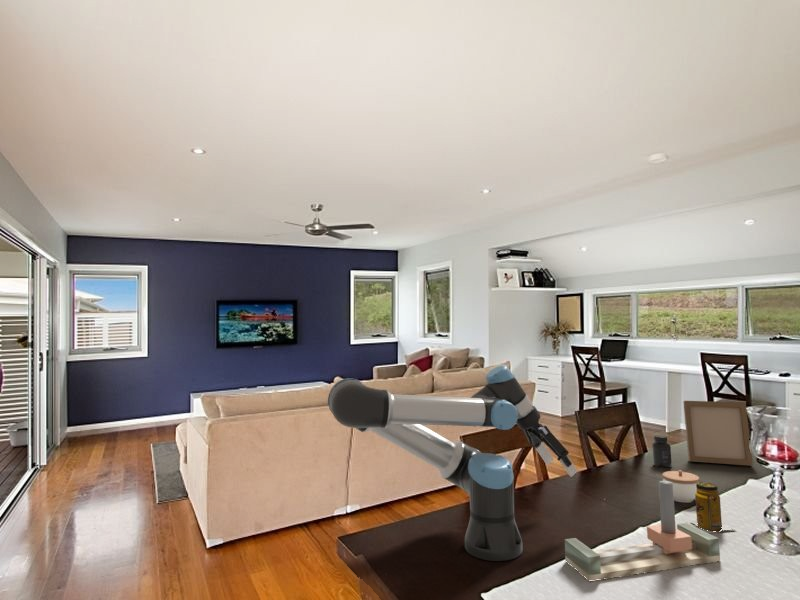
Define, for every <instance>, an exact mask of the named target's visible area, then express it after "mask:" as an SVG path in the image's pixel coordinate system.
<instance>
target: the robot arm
mask: <svg viewBox="0 0 800 600" xmlns="http://www.w3.org/2000/svg"><path fill="white" fill-rule="evenodd" d="M485 380H486V382H487V383H486V384H485V386H483V387H482V388H481V389H479V390H478V391H477V392H476V393H474V394H473V395H472V396H470V397H463V396H462V397H461V396H460V397H459V396H458V397H457V396H437V395H418V394H415V395H414V394H397V393H395V394H394V393H391V392H390V391H389V390H388V389H380V388H379V389H377V388H373V387H370V386H367V385H365V384H363V382H362V381H360V380H359V379H357V378H352V377H351V378H349V377H347V378H343V379H340V380H339V381H337V382H336V383H335V384H333V386H332V387H331V388H330V390H329V393H328V397H327V405H328V408H329V411H330V412H331V413H332V415H333V418H334V419H335V420H336V421H337V422H338V423H339V424H340V425H343V426H344V427H347V428H353V429H356V430H358V431H360V432H362V433H366V432H370V431H371V432H373V433H375V434H376V435H378V436H379V437H382V438H383V439H385V440H386V441H388V442H390V443H392V444H394V445H396V446H398V447H399V448H401V449H403V450H404V451H406V452H407V453H410V454H411V455H413V456H415V457H416V458H418V459H420V460H422V461H424V462H426V463H428V464H429V465H430V466H432V467H434V468H436V469H438V470H439V475H440V477H442V478H443V479H444V480H446V481H448V482H450V483H452V484H453V485H456V486H457V487H458V488H460V489H462V490H463V491H464V492H465V493H466V494H467V495H468V496H469V510H470V511H469V512H470V513H469V514H470V517H469V521H468V526H467V529H466V531H465V536H464V549H465V551H466V552H467V553H468V554H469V555H470V556H473V557H474V558H477V559H481V560H485V561H493V562H503V561H510V560H513V559H516V558H518V557H520V555H522V553H523V547H524V546H523V540H522V537H521V533H520V530H519V529H518V524H517V523H516V519H515V494H514V492H515V490H514V475H515V474H514V472H513V465H512V463H511V461H510V460H509V459H507V457H505V456H503V455H500V454H498V455H497V454H496V453H487V452H486V453H485V452H483V453H482V452H481V451H480V450H478V449H477V448H474V447H472V446H470V445H468V444H467V443H464V442H463V441H462V440H456V441H451V440H449V439H447V438H446V437H444V436H442V435H441V434H439V433H437V432H435V431H434V430H432V429H431V428H428V426H451V427H452V426H456V427H457V426H458V427H459V426H460V427H462V426H463V427H482V428H483V427H484V428H485V427H486V428H488V427H489V428H496V429H497V430H502V431H503V430H504V431H506V430H507V431H508V430H510V429H512V428H513V427H514V426H516V425H517V426H518V428H519V429H520V430H522V431H523V433H524V435H525V437H526V440H527V441H528V444H529V445H532V447H534V448H535V450H536V452H537V453H538V454H539V456H540V457H541V459H542V461H543V462H544V463H545V465H546V466H549V465H551V463H553V462H554V460H555V459H554V458H553V456H552V455H551V453H550V452H549V451H548V449H547V448H546V447H548V448H549V449H550V451H552V453H553V454H555V455H556V457H557V461H558V462H560V464H561V465H562V467H563V468H564V470H565V471H566V472H567V474H568V476H569V477H571V478H572V477H573V476H575V474H576V473H577V472H579V470H578V469H577V468H576V466H575V464H574V463H573V462H572V460H571V459H570V457H569V456H568V455H569V454H570V452H569V451H568V450H567V448H566V447H565V446H564V445H563V444H562V443H561V442H560V441H559V440H558V438H557V437H556V436H555V435H554V434H553V433H552V432H551V430H550V429H549V428H548V426H546V425H543V424H542V423H540V422H539V421H540V419H541V413H540V412H539V410H538V409H537V408H536V406H535V405H534V404H533V401H531V399H530V395H529V394H527V393H526V392H525V390H524V389H523V388H522V386H521V385H520V382H518V380H517V378H516V376H515V375H514V374H513V372H512V371H511V370H510V369H509V367H508V366H506V365H499V366H496V367H494V368H493V369H492V370H490V371H489V372H488V373H487V374H486V375H485Z"/></svg>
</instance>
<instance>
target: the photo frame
mask: <svg viewBox="0 0 800 600" xmlns="http://www.w3.org/2000/svg"><path fill="white" fill-rule="evenodd" d="M682 403H683V413H684V414H683V415H684V422H685V424H684V425H685V434H686V447H687V458H688V459H687V460H688V462H694V463H695V462H697V463H710V464H723V465H724V464H725V465H737V466H751V467H753V466H754V462H753V461H754V460H753V453H752V454H751V453H750V449H749V439H750V440H751V437H750V429H749V420H748V412H747V413H746V411H747V405H746V404H747V403H746V402H744V401H742V402H741V401H740V402H738V401H737V402H736V401H710V400H709V401H705V400H704V401H703V400H684V401H682Z"/></svg>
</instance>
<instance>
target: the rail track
mask: <svg viewBox="0 0 800 600" xmlns="http://www.w3.org/2000/svg"><path fill="white" fill-rule="evenodd" d="M676 529H678V530H680V531H682V532H684V533H686V534H688V535H690V536H691V540H692V549H688V550H686V551H682V552H675V553H668V554H665V553H663V547H661V546H660V545H653V542H652V543H645V544H637V545H631V546H625V547H617V548H616V547H615V548H611V549H604V550H597V551H594V550H593V549H592V548H590V547H589V546H587V545H586V544H584V543H583V542H582V541H580V540H579V539H578V538H577V537H571V538H566V539H564V555H565V556H564V557H565V558H564V559H565V562H566V561H567V562H568V563H569V564H571V565H572V566H573V567H574V568H576V569H577V570H578V571H579V572H580V573H581V574H582V575H583V576H585V577H586V578H587V579H588V580H596V579H604V578H612V579H614V578H613V577H619V578H621V577H620V576H625V577H628V576H627V575H631V576H633V575H632V574H637V573H644V572H646V573H644V574H648V573H647V572H650V573H655V572H654V571H656V572H660V570H663V571H668V570H667V569H669V570H674V569H673V568H675V569H679V568H678V567H682V566H688V567H690V566H689V565H694V566H696V565H695V564H700V565H703V564H702V563H707V564H711V563H710V562H713V563H718V562H717V561H719V562H721V552H720V538H719V537H717V536H715V535H712V533H707V532H706V531H704V530H702V529H700V528H698V527H696V526H695V525H693V524H691V523H688V522H684V523H683V522H682V523H677V524H676ZM569 564H568V565H569ZM682 568H683V567H682ZM581 574H580V575H581ZM582 575H581V576H582ZM583 576H582V577H583ZM588 580H587V581H588Z"/></svg>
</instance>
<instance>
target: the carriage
mask: <svg viewBox="0 0 800 600" xmlns="http://www.w3.org/2000/svg"><path fill="white" fill-rule="evenodd" d="M658 494H659V495H658V496H659V511H660V512H659V516H660V524H656V525H649V526H646V534H647V539H648V540H649V541H651V542H652V543H653V545H660V546H661V547H663V553H665V554H668V553H675V552H682V551H686V550H688V549H692V540H691V536H690V535H688V534H686V533H684V532H682V531H680V530H678V529H677V527H676V513H675V500H674V494H673V483H672V482H670V481H663V480H659V481H658Z"/></svg>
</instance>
